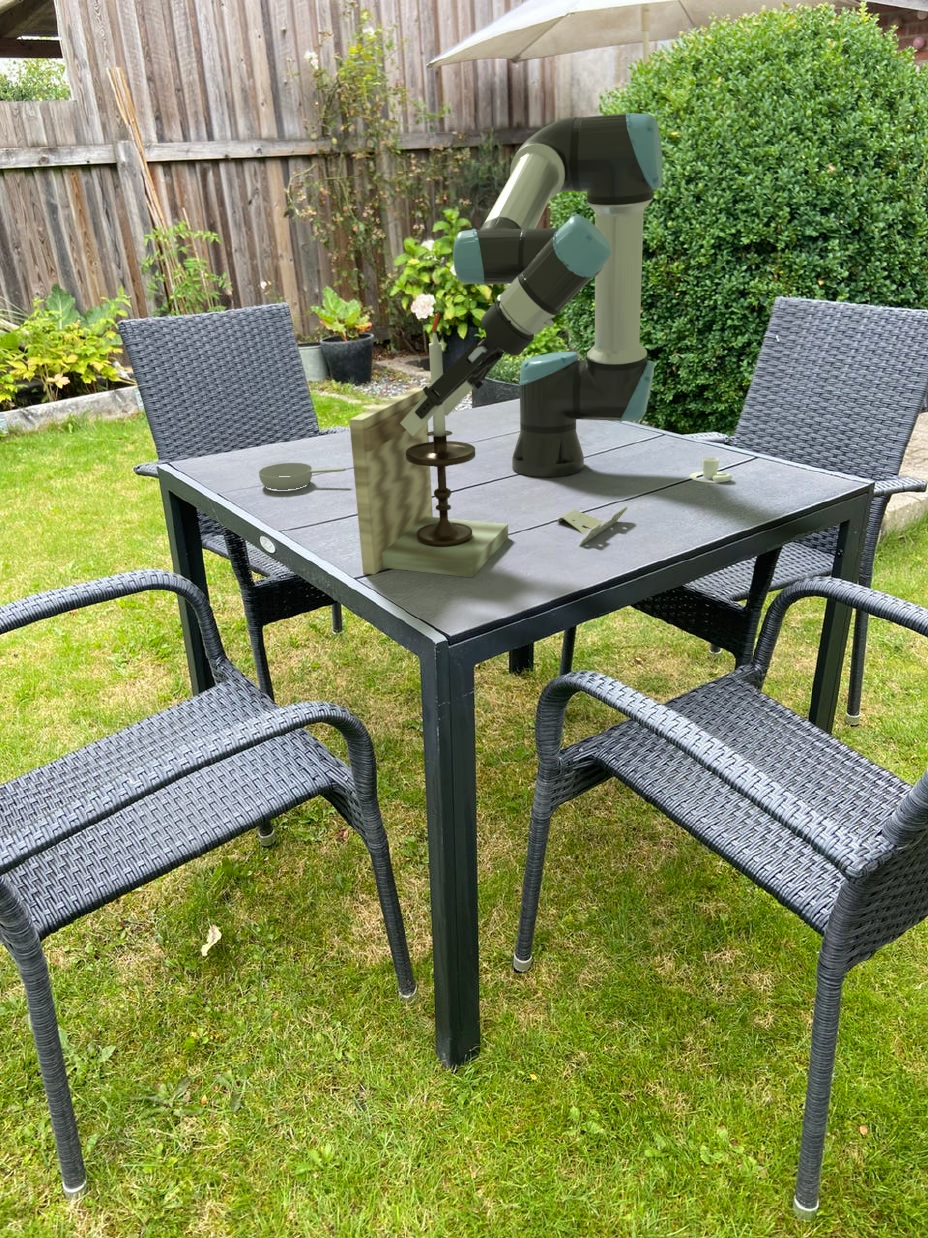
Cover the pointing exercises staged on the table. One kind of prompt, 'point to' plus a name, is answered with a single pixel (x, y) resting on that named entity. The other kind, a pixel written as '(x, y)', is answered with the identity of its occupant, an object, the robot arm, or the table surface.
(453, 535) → the candlestick
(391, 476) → the pale wooden blocky structure
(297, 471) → the small pan
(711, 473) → the teacup and saucer
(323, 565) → the table surface
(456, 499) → the table surface
